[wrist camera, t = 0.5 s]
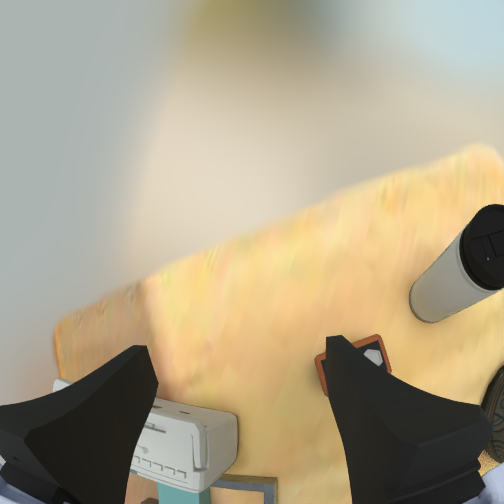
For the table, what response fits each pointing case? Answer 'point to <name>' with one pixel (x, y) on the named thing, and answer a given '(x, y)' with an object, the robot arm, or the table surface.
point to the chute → (243, 486)
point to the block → (181, 495)
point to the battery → (367, 346)
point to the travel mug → (463, 269)
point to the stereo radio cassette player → (183, 444)
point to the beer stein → (495, 415)
